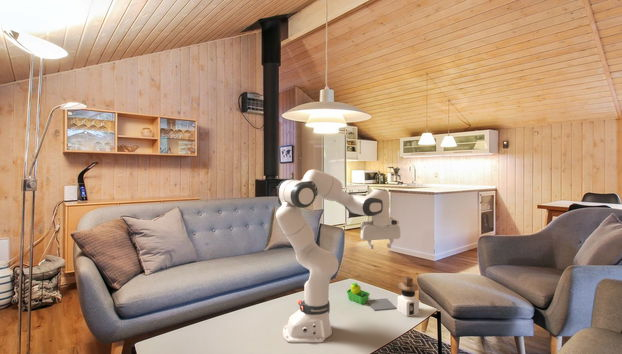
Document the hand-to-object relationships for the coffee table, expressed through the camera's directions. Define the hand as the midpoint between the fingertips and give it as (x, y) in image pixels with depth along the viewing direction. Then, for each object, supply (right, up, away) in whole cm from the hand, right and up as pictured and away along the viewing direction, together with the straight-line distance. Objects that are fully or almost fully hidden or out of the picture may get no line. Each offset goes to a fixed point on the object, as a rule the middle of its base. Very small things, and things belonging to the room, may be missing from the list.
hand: (380, 248), depth 165 cm
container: (+15, -34, +4) cm, 37 cm away
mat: (+3, -34, +13) cm, 36 cm away
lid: (+15, -21, +3) cm, 26 cm away
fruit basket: (-9, -34, +17) cm, 39 cm away
